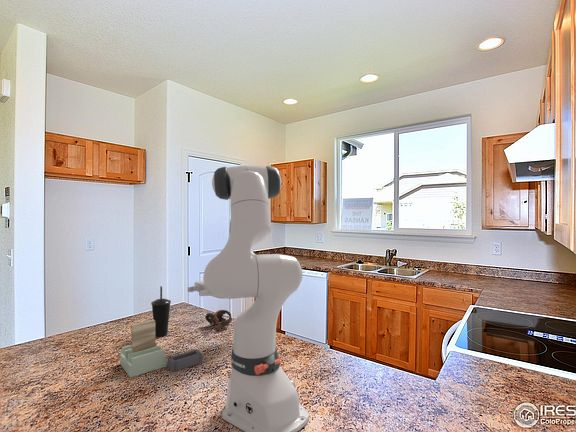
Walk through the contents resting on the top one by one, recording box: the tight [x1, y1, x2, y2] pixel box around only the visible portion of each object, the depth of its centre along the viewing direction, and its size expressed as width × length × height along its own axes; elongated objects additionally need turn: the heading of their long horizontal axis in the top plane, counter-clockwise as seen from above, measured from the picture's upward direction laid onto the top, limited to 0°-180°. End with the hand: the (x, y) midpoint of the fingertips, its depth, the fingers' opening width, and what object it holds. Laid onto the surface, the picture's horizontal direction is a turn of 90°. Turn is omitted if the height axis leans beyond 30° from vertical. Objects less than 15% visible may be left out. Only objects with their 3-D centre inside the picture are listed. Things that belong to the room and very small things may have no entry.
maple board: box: [130, 319, 156, 353], centre depth 104 cm, size 2×7×13 cm, turn 132°
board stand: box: [167, 348, 203, 373], centre depth 104 cm, size 4×10×3 cm, turn 132°
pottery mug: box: [204, 309, 233, 331], centre depth 139 cm, size 12×10×8 cm
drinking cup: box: [150, 285, 172, 338], centre depth 130 cm, size 8×8×20 cm
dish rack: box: [119, 341, 168, 378], centre depth 103 cm, size 12×11×6 cm
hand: (193, 291), depth 114 cm, fingers open, 8 cm apart
